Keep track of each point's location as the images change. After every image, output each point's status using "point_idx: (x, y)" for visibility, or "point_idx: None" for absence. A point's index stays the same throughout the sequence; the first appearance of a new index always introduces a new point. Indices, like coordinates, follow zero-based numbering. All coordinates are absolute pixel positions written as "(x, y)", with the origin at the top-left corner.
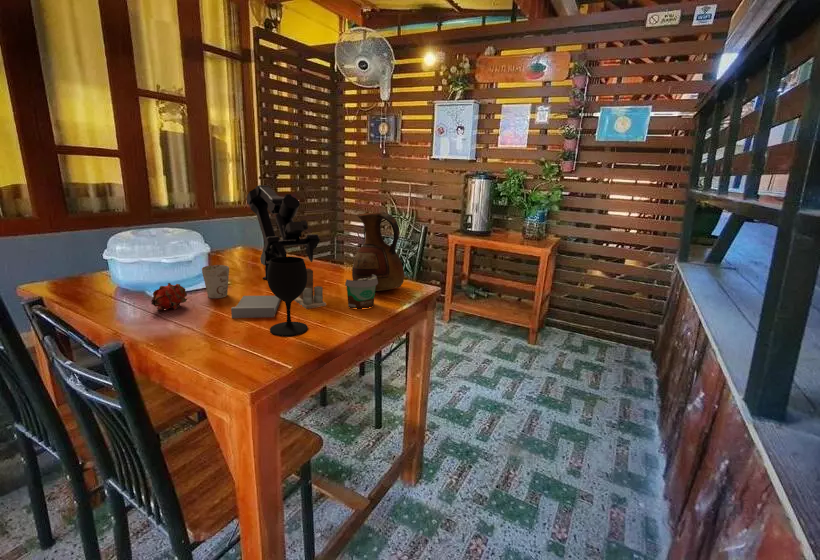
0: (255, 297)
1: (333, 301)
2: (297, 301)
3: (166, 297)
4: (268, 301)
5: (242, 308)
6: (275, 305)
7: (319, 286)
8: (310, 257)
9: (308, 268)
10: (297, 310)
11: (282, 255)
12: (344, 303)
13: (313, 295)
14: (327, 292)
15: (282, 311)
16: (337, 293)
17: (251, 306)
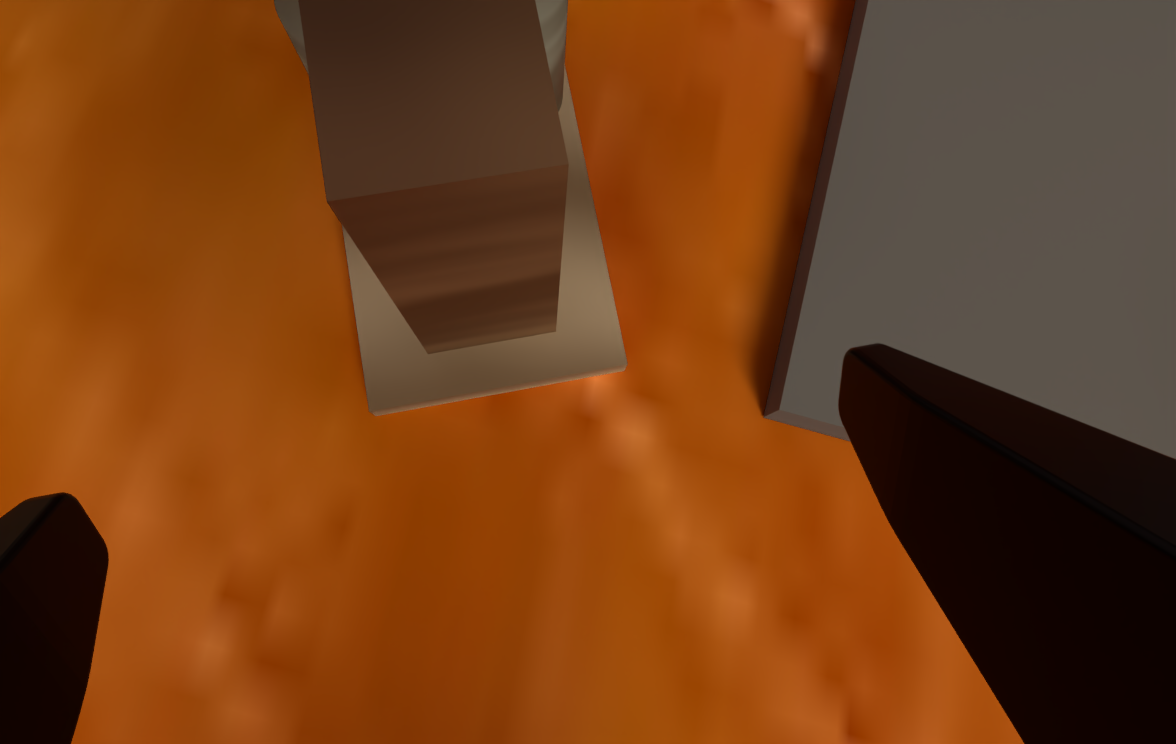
0: (1074, 416)
1: (191, 170)
2: (599, 242)
3: None
4: (932, 219)
5: None
6: (867, 66)
7: (303, 37)
8: (20, 599)
9: (336, 188)
10: (643, 17)
11: (1106, 438)
12: (99, 66)
13: (367, 367)
14: (120, 561)
15: (787, 36)
16: (7, 473)
17: (1102, 111)
